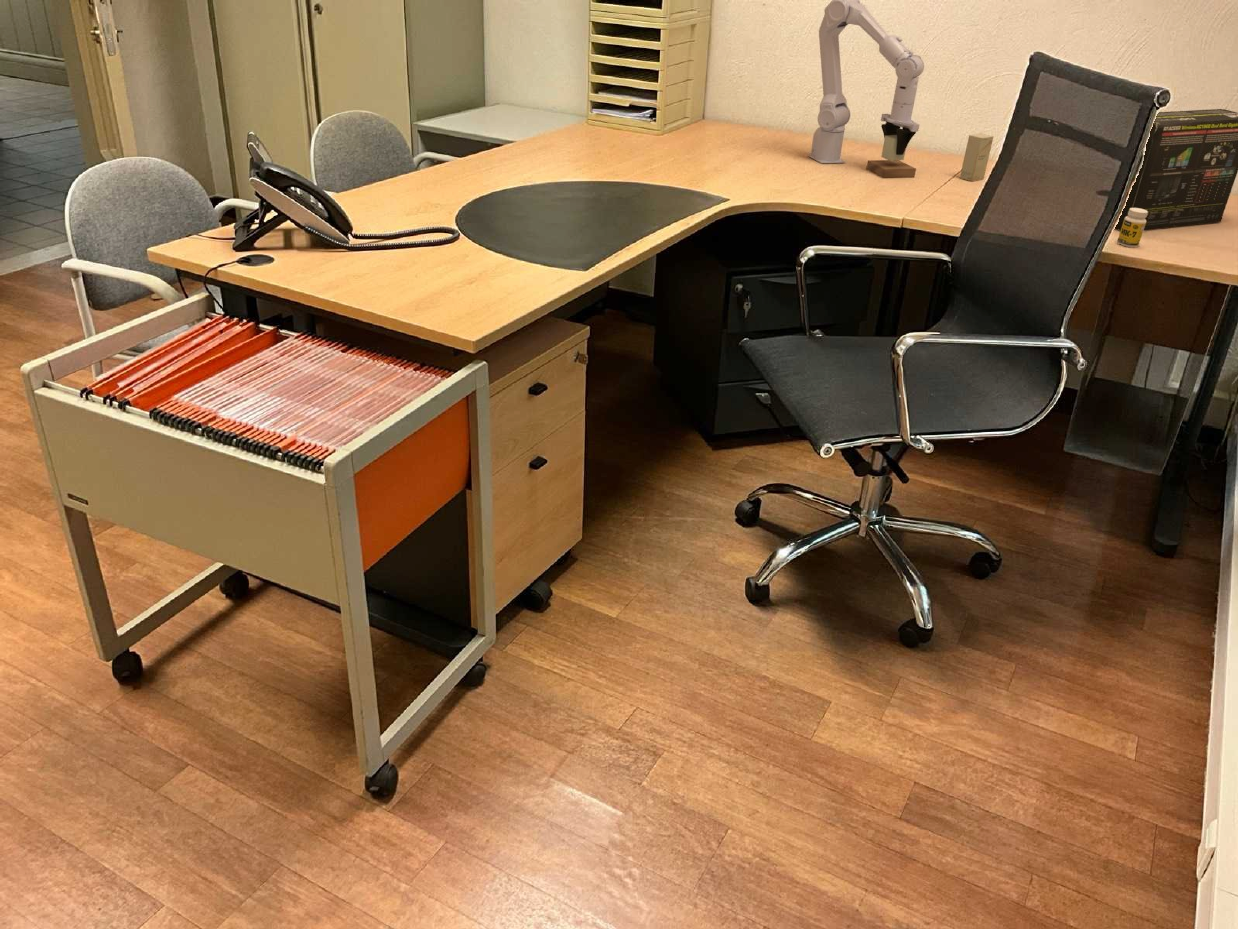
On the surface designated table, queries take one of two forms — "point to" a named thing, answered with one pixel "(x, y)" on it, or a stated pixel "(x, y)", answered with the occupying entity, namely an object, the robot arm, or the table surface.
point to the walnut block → (891, 169)
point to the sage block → (891, 149)
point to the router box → (1186, 169)
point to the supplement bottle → (1132, 227)
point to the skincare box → (976, 157)
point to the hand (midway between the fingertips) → (894, 152)
